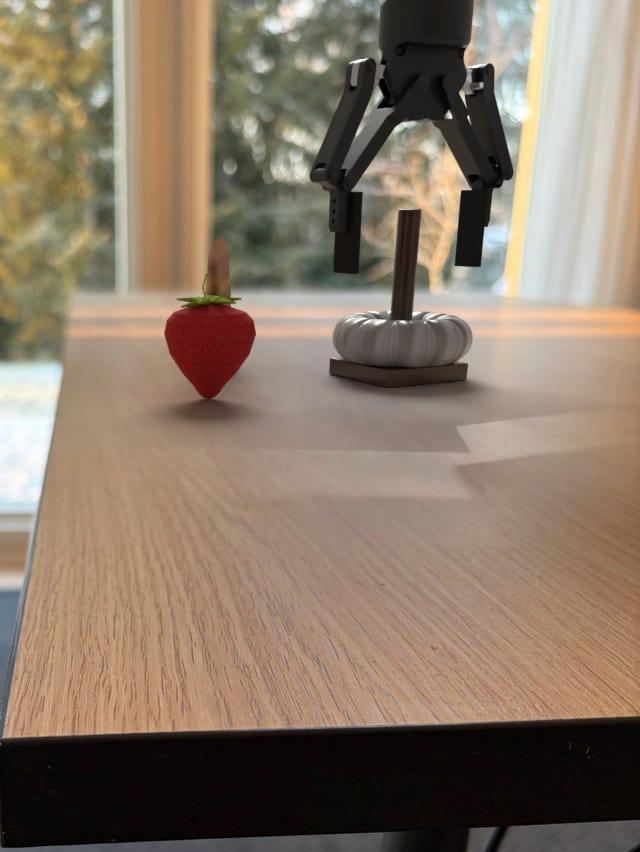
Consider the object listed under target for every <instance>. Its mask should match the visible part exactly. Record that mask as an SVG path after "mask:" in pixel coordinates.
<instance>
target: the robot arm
mask: <svg viewBox="0 0 640 852" xmlns="http://www.w3.org/2000/svg"><path fill="white" fill-rule="evenodd" d="M474 7H475V0H383V2H382V4H380V6H379V24H378V39H377V40H378V41H377V46H378V49H379V50H380V52H381V58H380V61H379V63H377V62H376V60H375V59H374V58H373V57H368V58H363V59H357V60H352V61H350V62H349V63H348V64H347V67H346V72H345V80H344V86H343V87H344V88H343V92H342V95H341V97H340V99H339V102H338V104H337V107H336V109H335V112H334V114H333V116H332V119H331V121H330V123H329V126H328V129H327V131H326V133H325V136H324V138H323V140H322V143H321V145H320V148H319V150H318V153H317V154H316V158H315V159H314V162H313V165H312V167H311V170H310V172H309V180H310V182H311V183H312V184H318V185H320V186H321V188H322V190H323V191H324V192H327V193H329V203H328V204H329V206H328V228H329V232H330V233H334V248H333V269H332V273H335V274H347V275H357V274H359V273H360V252H361V235H362V233H361V232H362V217H363V216H362V212H363V196H364V195H363V194H364V191H353V189H354V188H355V187H356V186H357V184H358V183H359V181H360V180H361V179H362V177H363V175H364V174H365V172H366V171H367V169H368V168H369V166H370V165H371V163H372V162H373V161H374V159H375V158H376V156H378V155H377V154H378V153H379V152H380V150H381V149H382V147H383V146H384V144H385V143H386V142H387V141H388V139H389V138H390V136H391V134H392V133H393V131H394V130H395V129H396V127H398V126H400V125H401V123H410V122H416V123H418V124H420V123H423V124H425V123H431V124H432V126H434V127H435V128H436V129H438V130H439V131H440V133H441V135H442V137H443V139H444V141H445V143H446V145H447V146H448V148H449V151H450V152H451V154H452V156H453V158H454V160H455V161H456V164H457V166H458V168H459V169H460V171H461V174H462V176H463V177H464V179H465V181H466V183H467V185H468V186H469V188H470V189H461V190H460V195H459V207H458V209H459V210H458V220H457V221H458V222H457V233H456V244H455V256H454V267H462V268H463V267H465V268H481V267H482V258H483V248H484V237H485V228H488V227H489V225H490V222H491V212H492V203H493V202H492V201H493V192H494V189H495V190H496V189H501V188H502V186H503V185H504V182H505V181H506V182H507V181H511V179H513V177H514V173H515V171H514V167H513V162H512V158H511V155H510V151H509V146H508V141H507V138H506V134H505V129H504V127H503V126H504V125H503V122H502V118H501V115H500V109H499V106H498V102H497V98H496V94H495V75H496V74H495V66H494V65H493V64H492V63H490V62H488V63H483V64H477V65H470V66H467V67H466V64H465V52H466V50H467V48H468V47H469V45H470V43H471V40H472V33H473V32H472V31H473V19H474ZM377 86H378V89H379V90H380V91H379V92H381V96H380V98H379V99H378V101H377V102H376V104H374V107H373V108H372V110H371V111H370V112H369V114H368V117H369V118H368V120H367V122H366V123H365V125H364V126H363V127H362V129H361V131H359V134H358V135H357V136H356V134H357V132H358V130H359V127H360V125H361V123H362V120H363V118H364V116H365V113H366V111H367V109H368V106H369V103H370V101H371V99H372V95H373V92H374V91H375V89H376V88H377ZM460 92H462V93H464V100H463V98H462V96H461V94H460ZM355 137H356V138H355Z"/></svg>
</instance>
